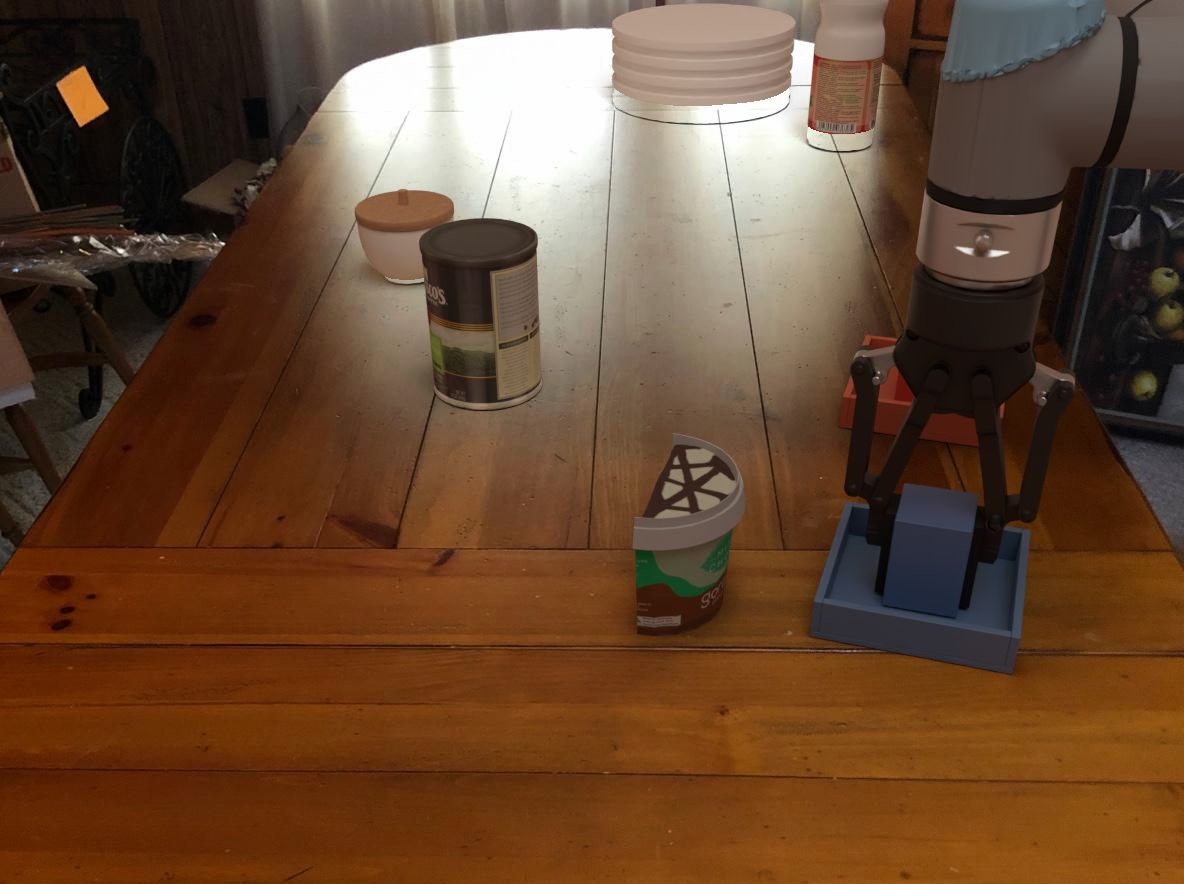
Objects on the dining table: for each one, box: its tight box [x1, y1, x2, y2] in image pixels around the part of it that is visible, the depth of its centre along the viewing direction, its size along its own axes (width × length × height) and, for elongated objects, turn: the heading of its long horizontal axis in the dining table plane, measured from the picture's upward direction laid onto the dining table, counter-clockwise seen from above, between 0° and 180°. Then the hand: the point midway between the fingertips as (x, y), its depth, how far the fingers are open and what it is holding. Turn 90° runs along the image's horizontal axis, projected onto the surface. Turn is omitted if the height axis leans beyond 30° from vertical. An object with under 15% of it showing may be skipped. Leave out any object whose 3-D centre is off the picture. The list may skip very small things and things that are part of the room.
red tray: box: [838, 334, 1006, 448], centre depth 108 cm, size 13×13×3 cm
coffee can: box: [419, 217, 544, 411], centre depth 110 cm, size 10×10×14 cm
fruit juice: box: [807, 0, 890, 134], centre depth 165 cm, size 9×9×28 cm
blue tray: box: [809, 501, 1032, 675], centre depth 85 cm, size 13×13×3 cm
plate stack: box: [611, 3, 797, 106], centre depth 190 cm, size 28×28×12 cm
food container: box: [632, 432, 747, 636], centre depth 83 cm, size 12×6×10 cm, turn 164°
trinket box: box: [354, 188, 455, 280], centre depth 134 cm, size 11×11×9 cm
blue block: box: [882, 482, 980, 618], centre depth 83 cm, size 5×5×7 cm
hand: (923, 588), depth 85 cm, fingers closed on blue block, 5 cm apart
